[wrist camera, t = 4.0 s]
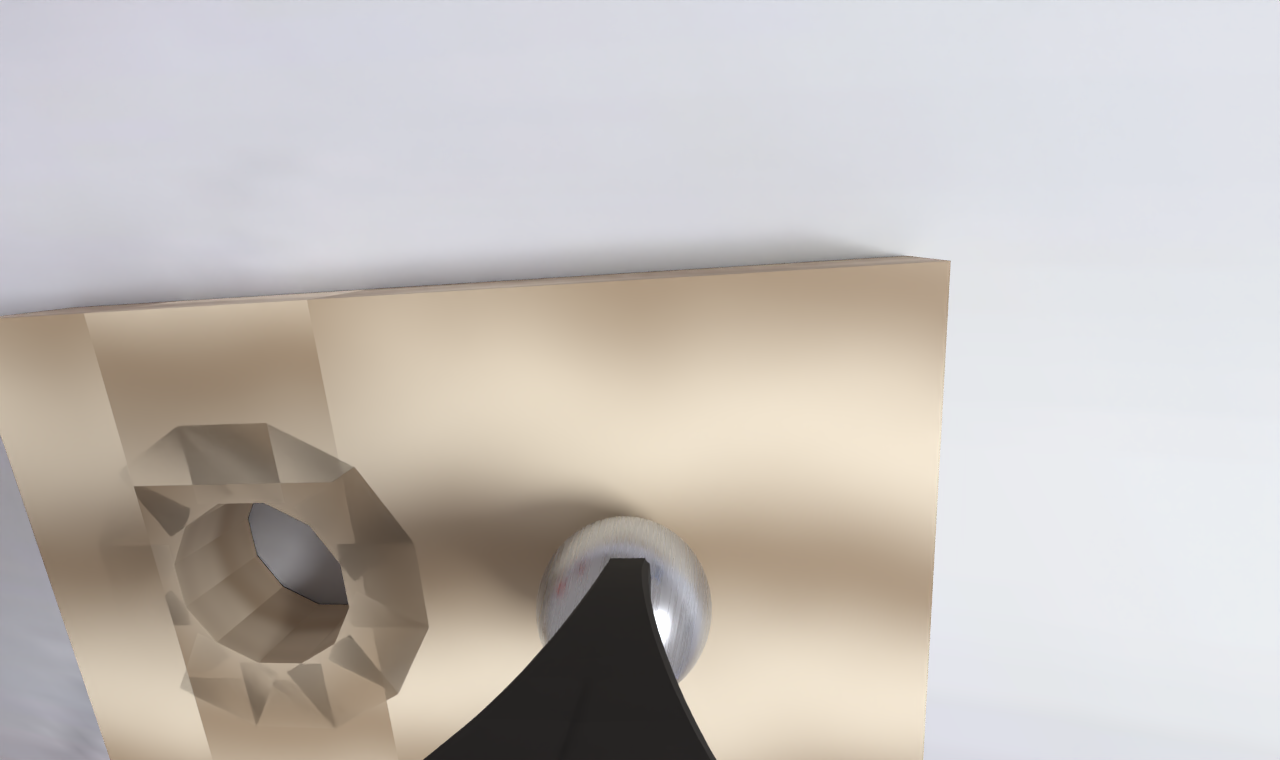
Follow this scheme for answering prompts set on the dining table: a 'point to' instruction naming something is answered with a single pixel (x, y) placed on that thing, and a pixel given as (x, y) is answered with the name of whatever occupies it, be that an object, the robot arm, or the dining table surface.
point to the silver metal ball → (673, 583)
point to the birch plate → (487, 498)
